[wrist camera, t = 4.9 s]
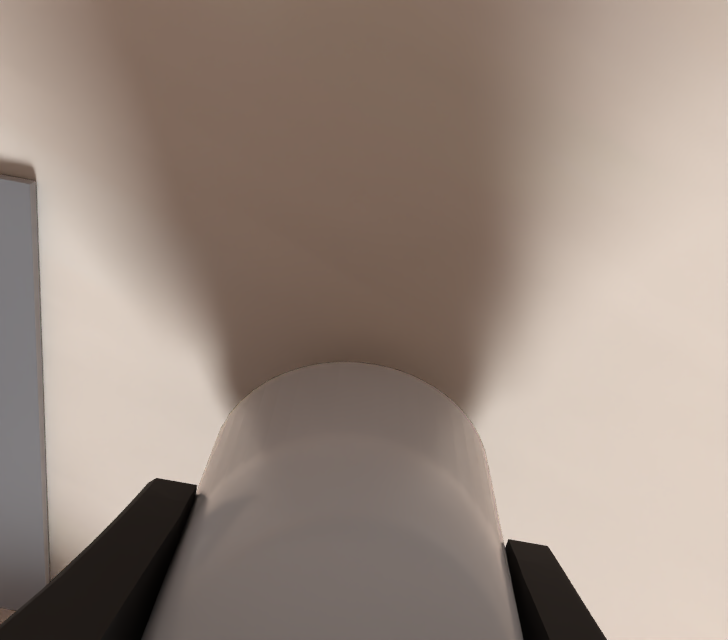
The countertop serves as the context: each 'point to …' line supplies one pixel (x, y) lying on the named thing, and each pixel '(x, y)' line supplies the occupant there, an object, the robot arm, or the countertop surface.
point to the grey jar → (341, 519)
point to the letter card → (21, 401)
